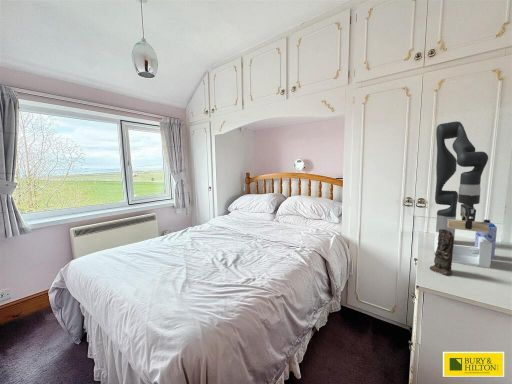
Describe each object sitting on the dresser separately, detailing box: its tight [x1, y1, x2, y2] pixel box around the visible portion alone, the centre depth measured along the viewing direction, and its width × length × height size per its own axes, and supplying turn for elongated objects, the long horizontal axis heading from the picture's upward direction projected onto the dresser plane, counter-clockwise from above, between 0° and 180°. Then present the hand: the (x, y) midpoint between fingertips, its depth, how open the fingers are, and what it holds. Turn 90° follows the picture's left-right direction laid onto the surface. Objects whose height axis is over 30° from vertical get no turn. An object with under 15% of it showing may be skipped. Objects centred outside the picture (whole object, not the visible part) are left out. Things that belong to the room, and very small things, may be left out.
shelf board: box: [447, 219, 489, 233], centre depth 107 cm, size 6×14×4 cm, turn 52°
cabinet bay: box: [433, 231, 492, 269], centre depth 112 cm, size 12×19×12 cm, turn 58°
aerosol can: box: [474, 219, 498, 260], centre depth 115 cm, size 8×8×20 cm
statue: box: [429, 229, 455, 276], centre depth 100 cm, size 7×7×20 cm
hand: (466, 227), depth 107 cm, fingers closed on shelf board, 5 cm apart
